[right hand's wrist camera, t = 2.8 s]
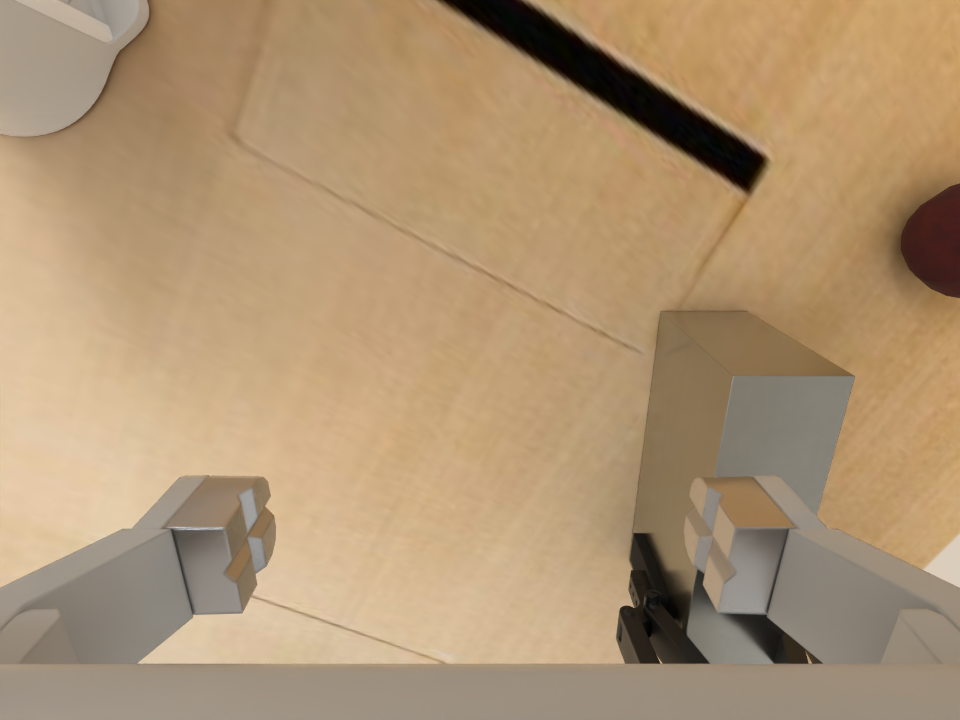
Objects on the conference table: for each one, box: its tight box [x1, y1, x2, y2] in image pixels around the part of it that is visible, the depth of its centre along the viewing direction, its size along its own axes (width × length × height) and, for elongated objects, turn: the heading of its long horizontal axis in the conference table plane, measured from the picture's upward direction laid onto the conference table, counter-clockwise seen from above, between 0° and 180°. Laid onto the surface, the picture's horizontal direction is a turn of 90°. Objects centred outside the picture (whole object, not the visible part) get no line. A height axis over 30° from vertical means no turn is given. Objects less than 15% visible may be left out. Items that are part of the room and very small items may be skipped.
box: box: [629, 311, 855, 664], centre depth 37 cm, size 22×6×12 cm, turn 0°
